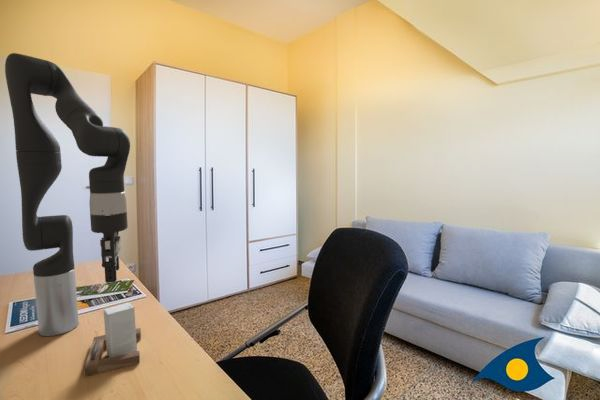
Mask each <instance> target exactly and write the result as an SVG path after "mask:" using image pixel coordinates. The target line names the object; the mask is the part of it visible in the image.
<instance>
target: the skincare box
mask: <svg viewBox="0 0 600 400" xmlns="http://www.w3.org/2000/svg"><path fill="white" fill-rule="evenodd" d="M135 315H136V314H135V307H134V306H133V305H132V304H131V303H130V302H125V303H122V304H118V305H115V306H112V307H108V308H105V309H103V321H104V322H103V323H104V333H105V334H104V335H106V347H105V348H106V354H107V356H108V358H110V357H114V356H119V355H123V354H127V353H132V352H136V351H138V345H137V341H136V329H137V328H136V327H137V326H136V316H135Z"/></svg>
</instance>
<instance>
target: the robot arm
mask: <svg viewBox="0 0 600 400" xmlns="http://www.w3.org/2000/svg"><path fill="white" fill-rule="evenodd" d="M4 73H5V74H4V75H5V80H6V86H7V89H8V94H9V95H8V96H9V101H10V107H11V111H12V118H13V119H12V120H13V127H14V128H13V129H14V142H15V143H14V144H15V155H16V156H15V157H16V164H17V166H16V167H17V172H18V179H19V186H20V193H21V194H20V196H21V226H22V227H21V229H22V230H21V231H22V233H21V234H22V241H23V246H24V247H25V249H26V250H27V251H31V252H32V251H42V250H50V249H58V251H56V252H55V253H53V255H50V256H47V257H46V258H43V259H42V260H39V261H37V262H35V263H34V264H33V267H32V274H33V282H34V292H35V293H34V294H35V301H36V302H35V304H36V317H37V325H38V326H37V328H38V334H39V335H40V336H42V337H53V336H58V335H61V334H65V333H68V332H70V331H72V330H73V329H75V328H77V327H78V326H79V323H80V321H79V311H78V310H79V309H78V308H79V307H78V296H77V295H78V293H77V283H76V282H77V281H76V269H75V259H74V258H75V257H74V244H73V243H74V227H73V222H72V219H71V217H70V216H68V214H61V215H60V214H59V215H58V214H57V215H46V216H45V215H44V216H38V215H37V214H38V213H37V212H38V210H39V207H40V204H41V202H42V200H43V199H44V197H45V195H46V194H47V192H48V191H49V189H50V188H51V187H52V185H53V184H54V182H55V181H57V179H58V177H59V175H60V174H61V172H62V168H63V166H62V153H61V152H62V151H61V146H60V143H59V142H58V140H57V139H56V137H55V136H54V135H53V133H52V131H51V130H50V129H49V128H48V127H47V126H46V123H44V121H43V120H42V119H41V118H40V116H39V115H38V112H37V111H36V109H35V105H34V102H33V97H32V95H37V96H45V97H51V98H52V97H53V98H55V99H56V101H55V103H54V104H55V105H54V107H55V108H54V109H55V113H56V115H57V117H58V118H59V119H60V121H62V123H63V124H64V125H65V126H66V127H67V128H68V129H69V131H71V133H72V136H73V137H74V141H75V142H76V143H75V144H76V146H77V148H78V149H79V151H80V152H82V154H85V155H87V156H90V157H101V158H102V157H105V158H106V161H105V163H104V165H101V166H97V167H93V168H91V169H90V170H89V172H88V181H89V184H88V185H89V205H88V206H89V219H90V231H91V232H93V233H94V234H95V233H96V234H103V236H102V237H101V239H99V245H100V256H101V267H102V268H104V277H105V279H104V282H105V283H106V284H110V283H116V282H117V280H118V278H117V277H118V276H117V271H119V270H120V253H121V252H120V250H121V241H122V240H121V239H122V238H121V235H119V232H122V231H125V230H127V229H128V228H129V226H128V206H127V197H126V194H125V193H126V192H125V178H124V177H125V172H126V166H127V162H128V158H129V154H130V150H131V141H130V137H129V135H128V134H127V132H126V131H125V130H124V129H123V128H120V127H116V126H115V127H113V126H105V125H104V122H103V119H102V118H101V116H100V115H99V114H98V113H97V112H96V111H95V110H94V108H92V107H91V106H90V105H89V104H88V103H87V102H86V101H85V100H84V99H83V98H82V97H81V96H80V94H79V93H78V91H77V90H76V88H75V87H74V85H73V84H72V83H71V81H70V80H69V78H68V77H67V75H66V73H65V72H64V71H63V70H62V68H60V66H58V65H57V64H56V63H54V62H52V61H49V60H47V59H43V58H37V57H35V56H30V55H27V54H22V53H17V52H11V53H9V54H8V56H7V57H6V58H5V63H4ZM107 260H108V261H107Z"/></svg>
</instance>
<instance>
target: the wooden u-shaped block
mask: <svg viewBox="0 0 600 400" xmlns="http://www.w3.org/2000/svg"><path fill="white" fill-rule="evenodd" d="M141 336H142V332H141V327H139V328H136V341H141V340H142V337H141ZM105 348H107V347H106V335H105V334H103V335H97V336H94V337H93V339H92V343H91V346H90V349H89V352H88V356H87V357H86V362H85V365H84V369H83V370H84V377H88V376H92V375H96V374H99V373H104V372H107V371H112V370H116V369H120V368H125V367H129V366H132V365H136V364H140V362H141V361H140V360H141V355H140V350H137V351H135V352H132V353H127V354H123V355H119V356H114V357H110V358H109V357H107V358H103V355H104V349H105Z"/></svg>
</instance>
